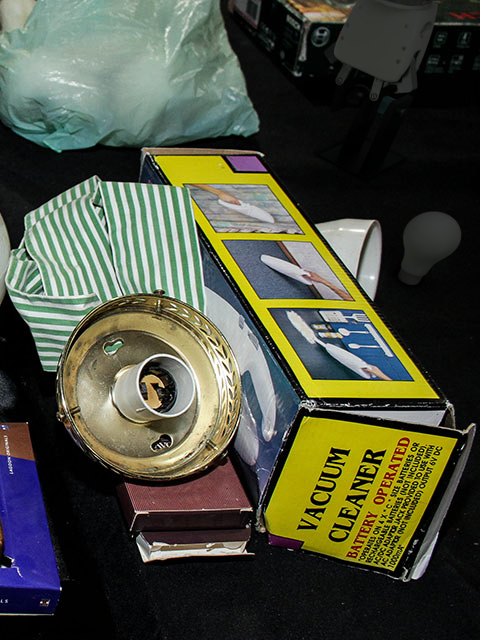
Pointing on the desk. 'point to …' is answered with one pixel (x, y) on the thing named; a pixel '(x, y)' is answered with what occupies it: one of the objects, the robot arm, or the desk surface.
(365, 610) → the desk surface
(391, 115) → the switch bracket
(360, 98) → the switch lever
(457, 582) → the desk surface
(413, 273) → the lightbulb
